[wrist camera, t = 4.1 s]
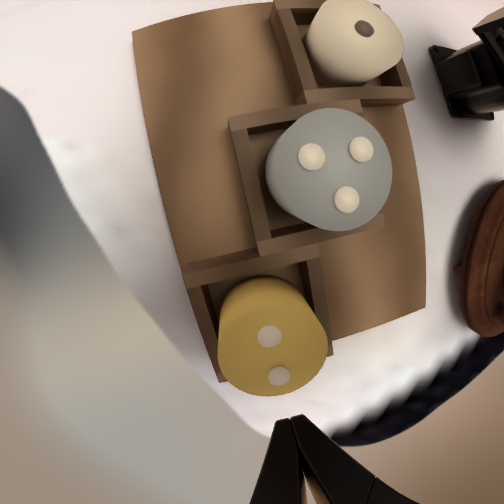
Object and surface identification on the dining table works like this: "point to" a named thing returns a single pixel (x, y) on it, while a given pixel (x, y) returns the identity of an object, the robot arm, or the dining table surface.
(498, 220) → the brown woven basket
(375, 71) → the cream button
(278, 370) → the mustard button
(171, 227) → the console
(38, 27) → the dining table surface
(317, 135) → the slate button
